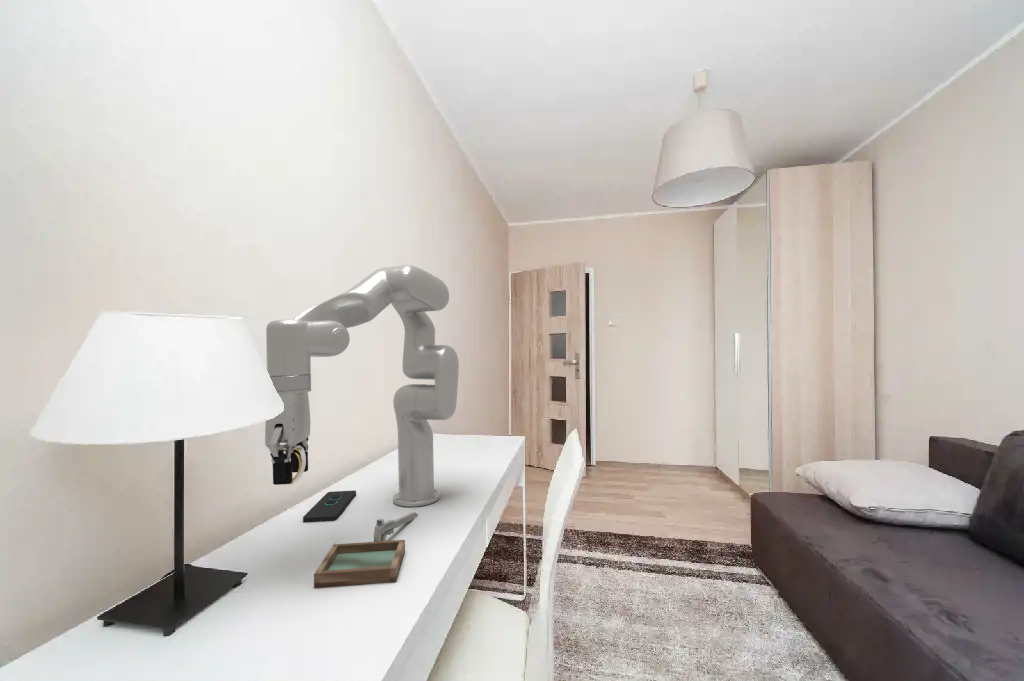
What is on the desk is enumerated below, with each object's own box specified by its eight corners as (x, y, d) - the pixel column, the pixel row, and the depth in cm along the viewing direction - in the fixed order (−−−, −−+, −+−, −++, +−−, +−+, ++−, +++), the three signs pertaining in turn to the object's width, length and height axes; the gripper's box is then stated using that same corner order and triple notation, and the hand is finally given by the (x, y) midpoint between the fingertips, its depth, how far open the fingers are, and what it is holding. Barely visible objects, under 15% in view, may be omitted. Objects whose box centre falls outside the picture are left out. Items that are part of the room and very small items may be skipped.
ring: (283, 490, 81) (282, 446, 82) (269, 489, 82) (268, 446, 83) (311, 479, 88) (310, 438, 88) (298, 478, 89) (297, 438, 89)
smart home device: (357, 489, 129) (336, 515, 109) (357, 495, 129) (336, 522, 109) (327, 491, 128) (301, 517, 108) (327, 497, 128) (301, 524, 108)
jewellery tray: (334, 556, 90) (333, 544, 90) (405, 551, 91) (404, 539, 91) (314, 588, 78) (313, 574, 78) (396, 581, 79) (395, 568, 79)
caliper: (378, 554, 91) (378, 522, 91) (373, 554, 91) (373, 522, 91) (418, 516, 111) (417, 490, 111) (414, 515, 111) (413, 490, 112)
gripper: (288, 381, 94) (289, 466, 94) (246, 389, 76) (248, 493, 76) (324, 380, 94) (326, 464, 94) (291, 388, 77) (293, 491, 77)
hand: (291, 476), depth 85 cm, fingers closed on ring, 7 cm apart
